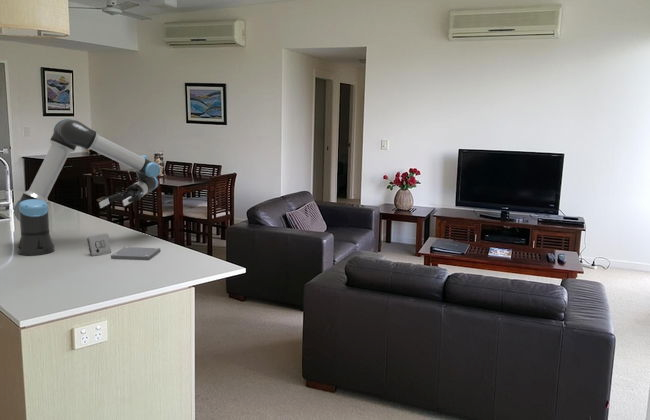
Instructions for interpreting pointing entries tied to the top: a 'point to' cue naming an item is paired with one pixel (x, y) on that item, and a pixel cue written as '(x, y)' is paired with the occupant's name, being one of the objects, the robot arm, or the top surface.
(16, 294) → the top surface
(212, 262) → the top surface
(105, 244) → the electrical switch
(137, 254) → the mounting plate
